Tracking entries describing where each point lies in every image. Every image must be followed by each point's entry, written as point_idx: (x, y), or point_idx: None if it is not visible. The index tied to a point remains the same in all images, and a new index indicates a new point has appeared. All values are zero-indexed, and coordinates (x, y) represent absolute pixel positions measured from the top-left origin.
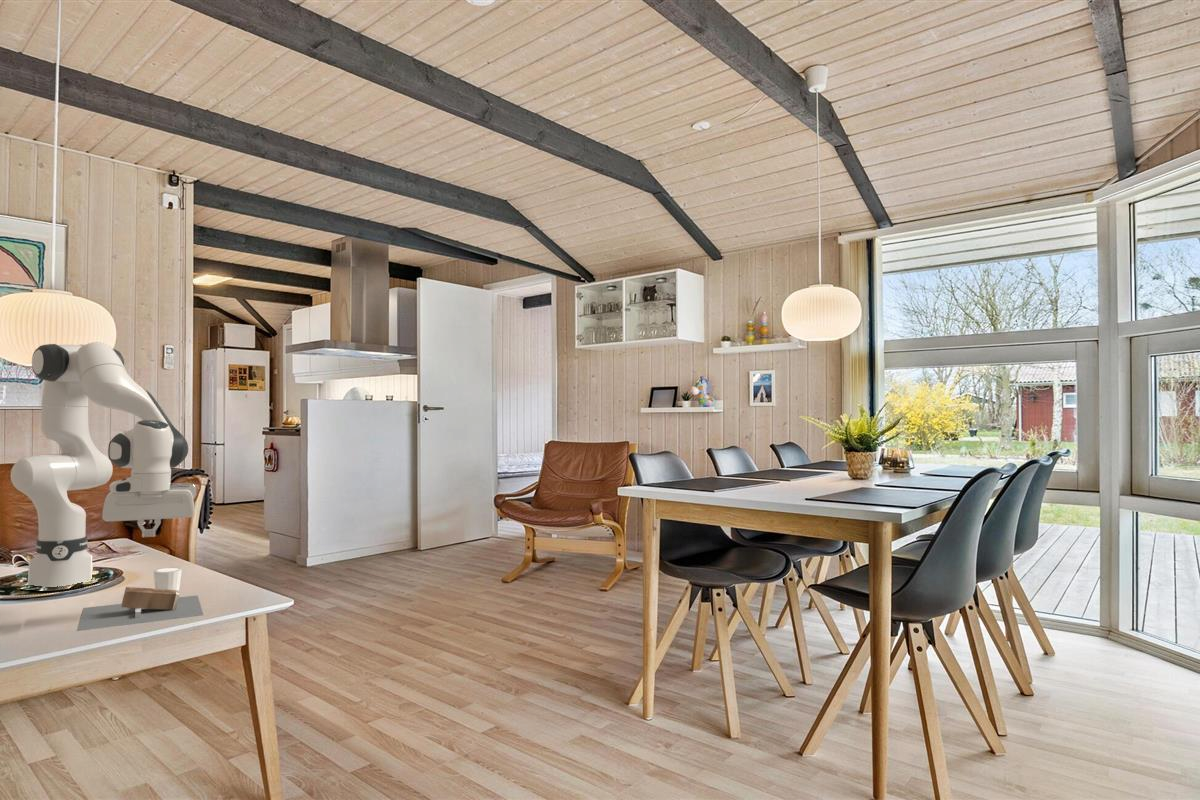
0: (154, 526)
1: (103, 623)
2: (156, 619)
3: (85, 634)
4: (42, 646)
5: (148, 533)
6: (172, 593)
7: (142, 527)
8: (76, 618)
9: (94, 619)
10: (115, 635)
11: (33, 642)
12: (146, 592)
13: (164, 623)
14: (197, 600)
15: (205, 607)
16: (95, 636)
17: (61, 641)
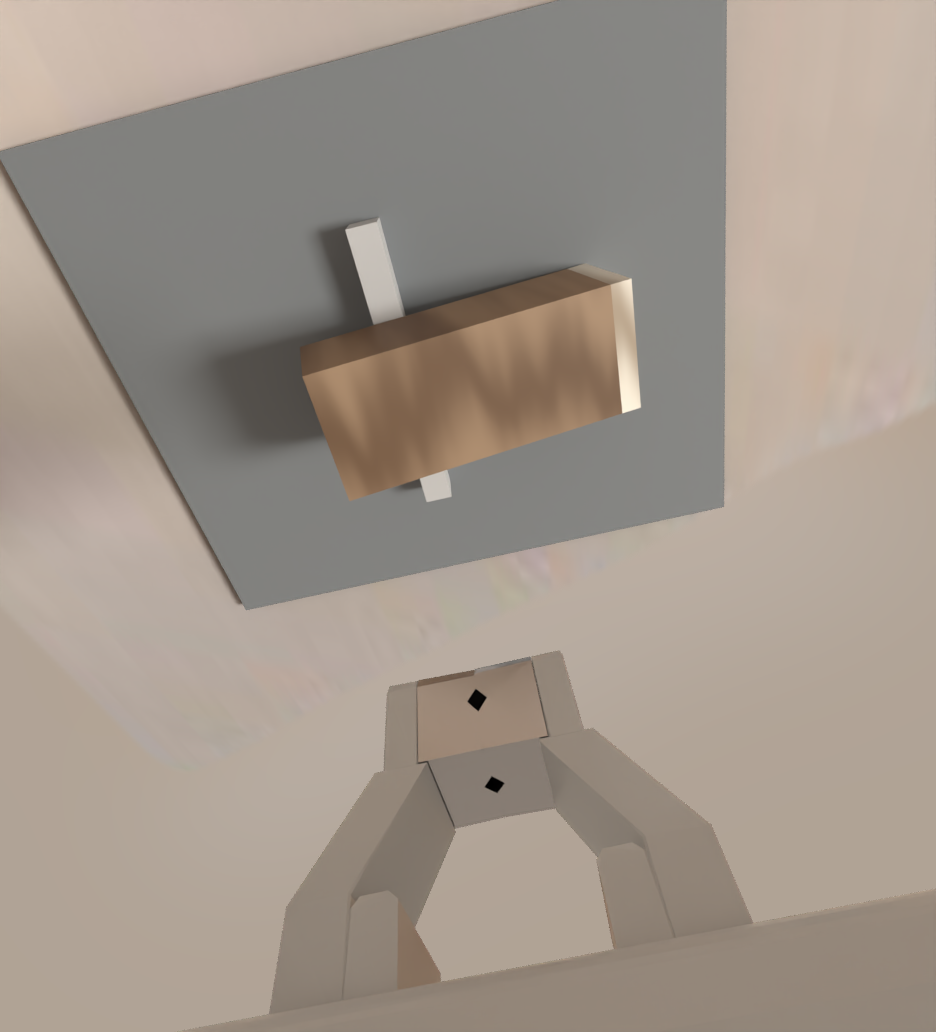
0: (584, 807)
1: (309, 536)
2: (527, 527)
3: (290, 619)
4: (206, 708)
5: (478, 710)
6: (601, 405)
7: (417, 893)
8: (94, 358)
9: (232, 461)
10: (410, 651)
11: (142, 667)
12: (462, 463)
13: (562, 548)
14: (716, 161)
15: (744, 306)
16: (340, 648)
17: (242, 675)
